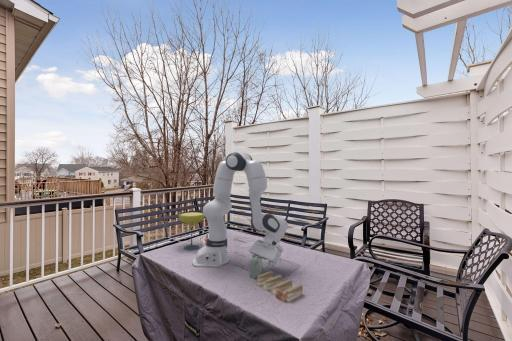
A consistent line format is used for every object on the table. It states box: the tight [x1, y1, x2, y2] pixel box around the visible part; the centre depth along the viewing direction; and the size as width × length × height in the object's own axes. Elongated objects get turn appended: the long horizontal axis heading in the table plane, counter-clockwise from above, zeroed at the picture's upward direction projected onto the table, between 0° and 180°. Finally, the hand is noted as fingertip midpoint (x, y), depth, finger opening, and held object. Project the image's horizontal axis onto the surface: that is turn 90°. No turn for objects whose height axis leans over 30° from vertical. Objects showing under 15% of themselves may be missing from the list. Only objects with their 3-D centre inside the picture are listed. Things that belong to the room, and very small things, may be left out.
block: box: [249, 256, 263, 280], centre depth 136 cm, size 3×6×10 cm, turn 132°
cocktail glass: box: [178, 210, 205, 251], centre depth 182 cm, size 18×18×25 cm
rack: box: [256, 270, 304, 303], centre depth 122 cm, size 21×11×4 cm, turn 42°
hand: (257, 264), depth 137 cm, fingers open, 8 cm apart
